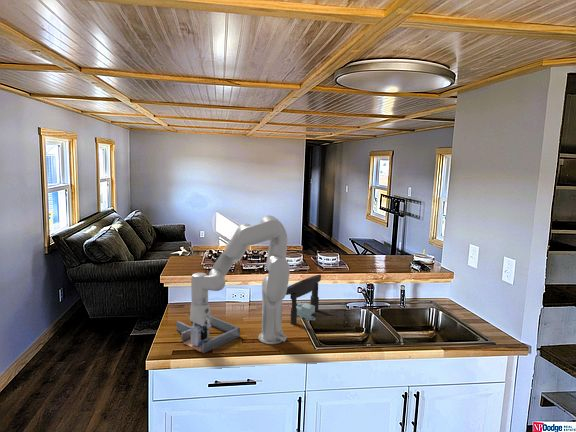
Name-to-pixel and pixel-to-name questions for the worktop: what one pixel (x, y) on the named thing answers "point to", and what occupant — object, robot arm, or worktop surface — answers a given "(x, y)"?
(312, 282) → the stool
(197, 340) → the medicine box
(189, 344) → the terracotta mat
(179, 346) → the worktop surface
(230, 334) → the bent rail channel
